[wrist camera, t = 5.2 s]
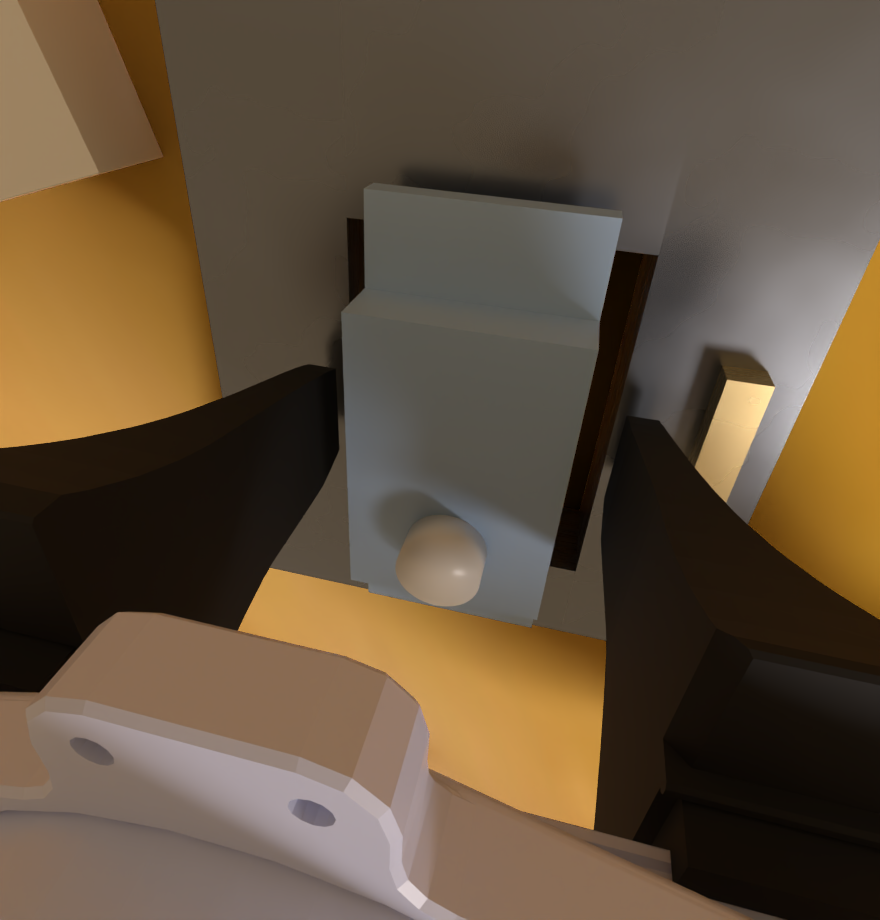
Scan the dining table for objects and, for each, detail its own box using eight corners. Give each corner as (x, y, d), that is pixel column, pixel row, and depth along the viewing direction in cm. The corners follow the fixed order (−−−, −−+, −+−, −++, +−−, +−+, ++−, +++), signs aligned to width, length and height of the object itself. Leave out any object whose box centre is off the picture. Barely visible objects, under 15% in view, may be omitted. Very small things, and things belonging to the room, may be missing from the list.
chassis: (933, -37, 9) (1044, -64, 7) (677, 589, 17) (687, 677, 15) (219, -72, 11) (113, -102, 9) (286, 511, 19) (240, 578, 17)
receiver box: (89, -39, 12) (-9, -54, 10) (170, 155, 14) (99, 173, 12) (-80, 32, 14) (-192, 30, 12) (12, 198, 16) (-72, 220, 14)
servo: (619, 173, 12) (626, 256, 7) (545, 523, 17) (521, 699, 13) (423, 152, 13) (315, 218, 8) (410, 497, 18) (339, 657, 13)
